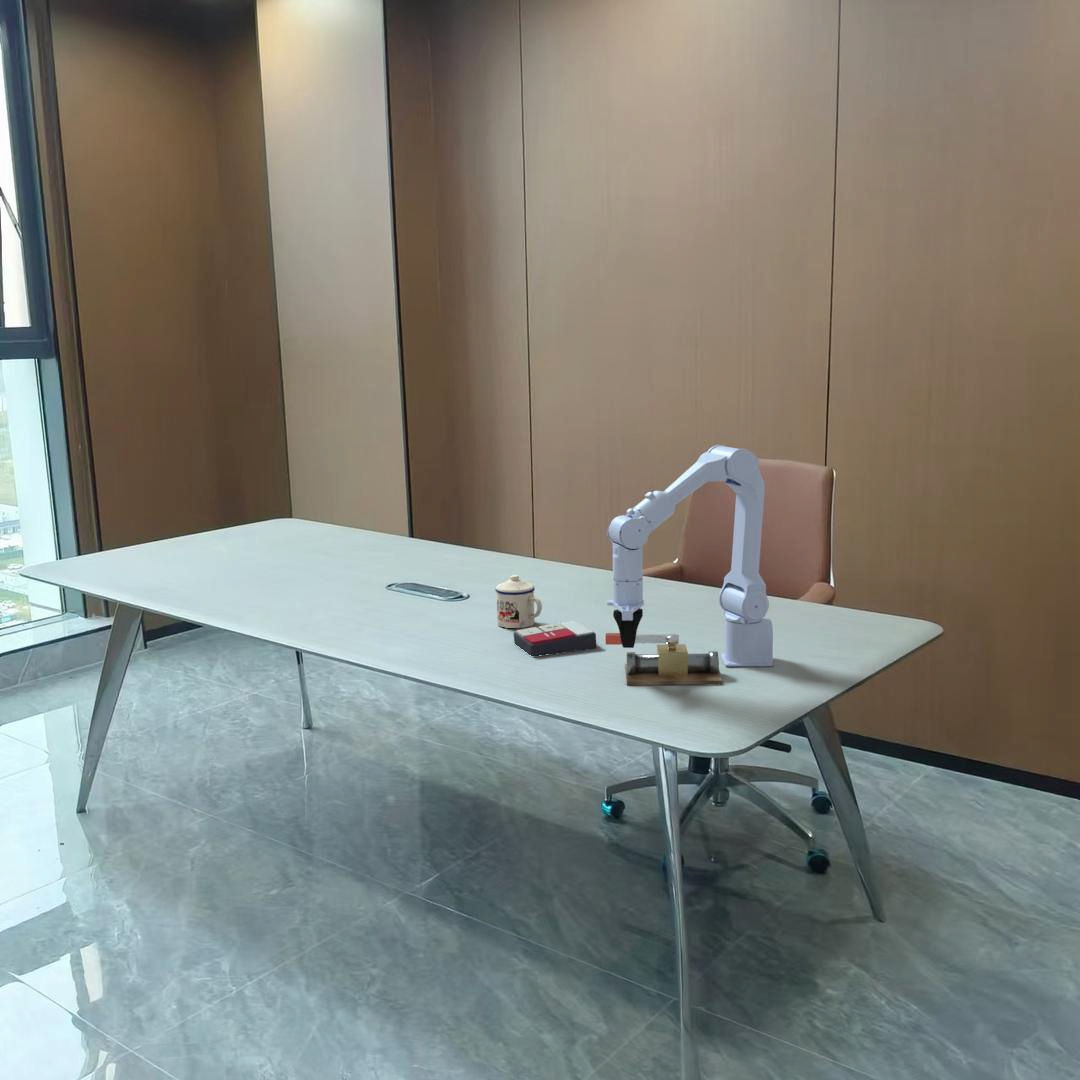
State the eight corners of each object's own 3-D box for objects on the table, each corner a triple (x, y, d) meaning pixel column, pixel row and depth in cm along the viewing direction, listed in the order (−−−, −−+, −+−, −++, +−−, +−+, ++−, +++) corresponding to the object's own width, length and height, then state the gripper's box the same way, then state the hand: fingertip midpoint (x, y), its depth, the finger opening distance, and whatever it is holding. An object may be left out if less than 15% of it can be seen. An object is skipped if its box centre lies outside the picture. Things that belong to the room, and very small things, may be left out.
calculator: (512, 629, 233) (575, 617, 238) (514, 648, 234) (576, 636, 239) (530, 642, 223) (596, 629, 228) (532, 661, 224) (597, 649, 229)
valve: (715, 669, 211) (716, 640, 210) (718, 677, 206) (719, 648, 205) (626, 670, 212) (626, 641, 211) (627, 678, 207) (627, 649, 206)
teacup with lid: (488, 626, 248) (486, 577, 246) (513, 617, 255) (511, 569, 253) (529, 633, 241) (528, 583, 239) (553, 624, 248) (552, 575, 246)
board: (715, 666, 214) (715, 662, 214) (721, 684, 203) (721, 680, 203) (625, 667, 215) (624, 663, 215) (627, 685, 204) (626, 681, 204)
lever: (679, 645, 207) (679, 636, 206) (605, 645, 208) (605, 636, 208) (678, 641, 209) (678, 632, 209) (605, 641, 210) (605, 632, 210)
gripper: (608, 570, 212) (608, 636, 214) (605, 587, 198) (606, 658, 200) (643, 570, 211) (644, 636, 214) (643, 587, 197) (644, 658, 199)
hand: (628, 647), depth 207 cm, fingers closed
